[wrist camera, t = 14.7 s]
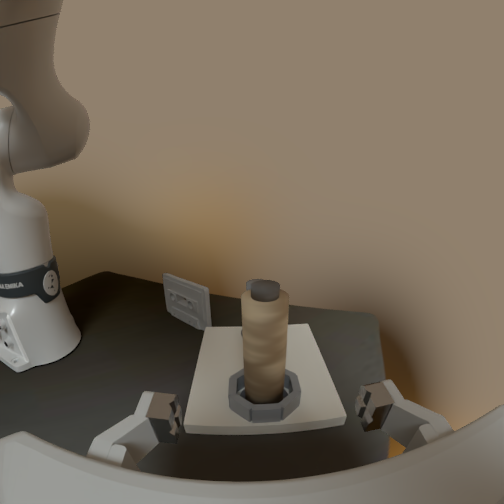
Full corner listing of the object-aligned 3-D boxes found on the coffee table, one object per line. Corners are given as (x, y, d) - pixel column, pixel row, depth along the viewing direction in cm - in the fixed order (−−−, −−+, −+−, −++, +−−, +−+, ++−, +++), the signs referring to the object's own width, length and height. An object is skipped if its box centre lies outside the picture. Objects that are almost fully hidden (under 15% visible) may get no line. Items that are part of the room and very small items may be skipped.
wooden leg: (245, 411, 24) (240, 295, 20) (244, 386, 28) (241, 277, 24) (285, 409, 24) (293, 293, 21) (280, 384, 28) (285, 276, 24)
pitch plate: (186, 432, 22) (167, 362, 20) (206, 333, 42) (201, 277, 40) (343, 424, 22) (363, 354, 20) (306, 330, 42) (310, 274, 40)
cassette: (214, 330, 43) (211, 287, 41) (206, 334, 42) (202, 290, 40) (172, 309, 51) (168, 271, 49) (164, 312, 49) (159, 274, 47)
